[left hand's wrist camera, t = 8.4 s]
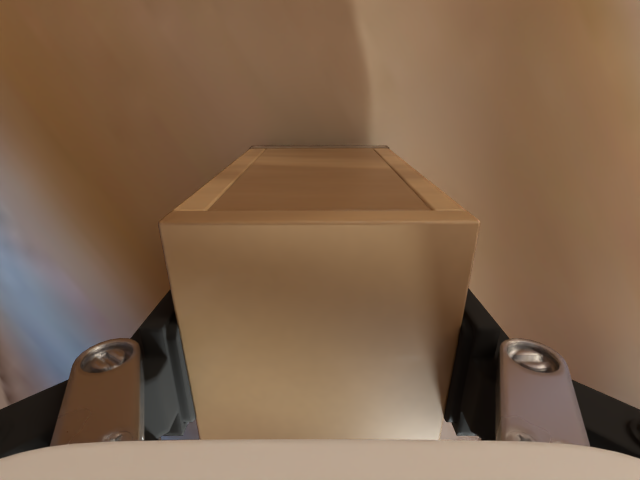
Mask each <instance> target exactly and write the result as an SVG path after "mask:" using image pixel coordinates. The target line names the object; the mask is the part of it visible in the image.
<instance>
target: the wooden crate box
mask: <svg viewBox="0 0 640 480" xmlns="http://www.w3.org/2000/svg"><path fill="white" fill-rule="evenodd" d="M158 226H159V231H160V237H161V242H162V247H163V252H164V257H165V262H166V268H167V273H168V278H169V283H170V288H171V293H172V298H173V304H174V309H175V314H176V319H177V324H178V328H179V333H180V338H181V343H182V348H183V354H184V359H185V364H186V369H187V374H188V380H189V385H190V390H191V395H192V400H193V406H194V411H195V416H196V422H197V427H198V432H199V437H200V440H238V439H402V440H440V435H441V429H442V424H443V419H444V414H445V408H446V403H447V398H448V392H449V387H450V382H451V376H452V371H453V366H454V361H455V355H456V350H457V345H458V339H459V334H460V329H461V324H462V318H463V313H464V308H465V302H466V297H467V292H468V287H469V281H470V276H471V271H472V265H473V260H474V255H475V250H476V244H477V239H478V234H479V228H480V221H479V220H478V219H477V218H475V217H474V216H473V215H472V214H470V213H469V212H468V211H465V209H464V208H463V207H461V206H460V205H459V204H458V203H456V202H455V201H454V200H453V199H451V198H450V197H449V196H448V195H446V194H445V193H444V192H442V191H441V190H440V189H439V188H437V187H436V186H435V185H434V184H432V183H431V182H430V181H429V180H427V179H426V178H425V177H424V176H422V175H421V174H420V173H419V172H417V171H416V170H415V169H414V168H412V167H411V166H410V165H409V164H407V163H406V162H405V161H404V160H402V159H401V158H400V157H399V156H397V155H396V154H395V153H394V152H392V151H391V150H390V149H389V147H388V146H252V147H250V149H249V150H248V151H247V152H245V153H244V154H243V155H242V156H240V157H239V158H238V159H237V160H235V161H234V162H233V163H232V164H230V165H229V166H228V167H227V168H225V169H224V170H223V171H222V172H220V173H219V174H218V175H217V176H215V177H214V178H213V179H211V180H210V181H209V182H208V183H206V184H205V185H204V186H203V187H201V188H200V189H199V190H198V191H196V192H195V193H194V194H193V195H191V196H190V197H189V198H188V199H186V200H185V201H184V202H183V203H181V204H180V205H179V206H178V207H176V208H175V209H174V210H173V211H172V212H170V213H169V214H168V215H166V216H165V217H164V218H163V219H161V220H160V221H159V223H158Z"/></svg>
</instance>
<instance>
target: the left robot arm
mask: <svg viewBox="0 0 640 480" xmlns="http://www.w3.org/2000/svg"><path fill="white" fill-rule="evenodd" d="M195 418H196V416H195V411H194V406H193V400H192V395H191V390H190V385H189V380H188V374H187V369H186V364H185V359H184V354H183V348H182V343H181V338H180V333H179V328H178V324H177V319H176V314H175V309H174V304H173V298H172V293H171V289H170V290H169V292H168V293H167V294H166V295H165V297H164V298H163V299H162V300H161V301H160V303H159V304H158V305H157V306H156V308H155V309H154V310H153V311H152V312H151V314H150V315H149V316H148V317H147V319H146V320H145V321H144V322H143V324H142V325H141V326H140V327H139V329H138V330H137V331H136V332H135V334H134V335H133V336H132V337H131V338H130V339H128V338H118V339H111V340H107V341H104V342H101V343H98V344H96V345H94V346H92V347H90V348H89V349H87V350H86V351H84V352H83V353H81V354H80V355H79V356H78V357H77V358H76V360H75V362H74V363H73V365H72V369H71V373H70V376H69V380H66V381H64V382H62V383H60V384H57V385H55V386H53V387H50V388H48V389H46V390H44V391H41V392H39V393H37V394H35V395H32V396H30V397H28V398H25V399H23V400H21V401H19V402H16V403H14V404H12V405H10V406H7V407H5V408H3V409H1V410H0V480H640V410H639V409H637V408H635V407H633V406H630V405H628V404H626V403H623V402H621V401H619V400H617V399H614V398H612V397H610V396H608V395H605V394H603V393H601V392H598V391H596V390H594V389H592V388H589V387H587V386H585V385H583V384H580V383H578V382H576V381H573V380H571V376H570V373H569V369H568V365H567V363H566V362H565V360H564V358H563V357H562V356H561V355H560V354H559V353H557V352H556V351H554V350H553V349H551V348H550V347H548V346H546V345H544V344H542V343H539V342H536V341H533V340H529V339H522V338H512V339H509V338H508V336H507V335H506V334H505V333H504V331H503V330H502V329H501V328H500V326H499V325H498V324H497V323H496V322H495V320H494V319H493V318H492V317H491V315H490V314H489V313H488V312H487V310H486V309H485V308H484V307H483V305H482V304H481V303H480V302H479V300H478V299H477V298H476V297H475V296H474V295H473V293H472V292H471V291H470V290H469V288H468V292H467V297H466V302H465V308H464V313H463V318H462V324H461V329H460V334H459V339H458V345H457V350H456V355H455V361H454V366H453V371H452V376H451V382H450V387H449V392H448V398H447V403H446V408H445V414H444V419H445V421H446V422H451V423H452V425H453V428H454V430H455V432H456V435H457V436H479V440H402V439H238V440H161V436H183V434H184V432H185V429H186V427H187V424H188V422H194V420H195Z"/></svg>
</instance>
